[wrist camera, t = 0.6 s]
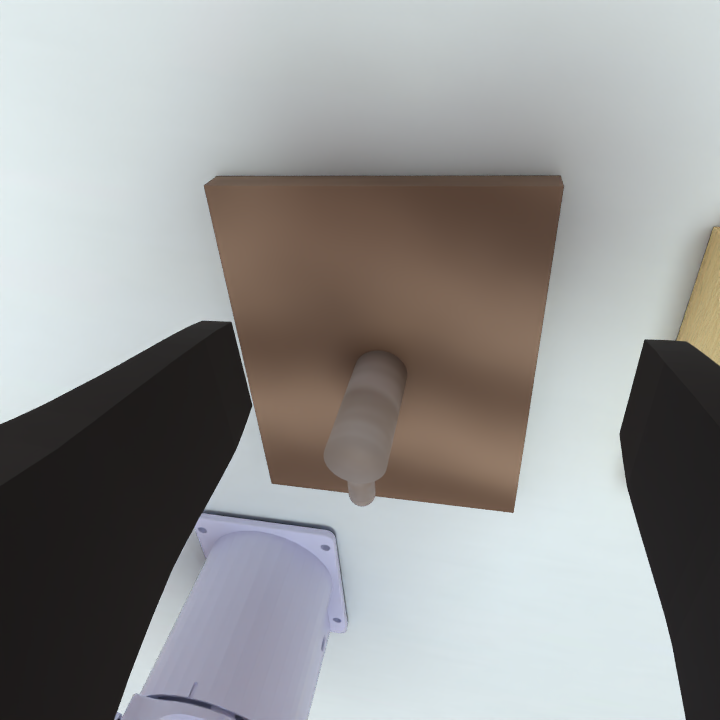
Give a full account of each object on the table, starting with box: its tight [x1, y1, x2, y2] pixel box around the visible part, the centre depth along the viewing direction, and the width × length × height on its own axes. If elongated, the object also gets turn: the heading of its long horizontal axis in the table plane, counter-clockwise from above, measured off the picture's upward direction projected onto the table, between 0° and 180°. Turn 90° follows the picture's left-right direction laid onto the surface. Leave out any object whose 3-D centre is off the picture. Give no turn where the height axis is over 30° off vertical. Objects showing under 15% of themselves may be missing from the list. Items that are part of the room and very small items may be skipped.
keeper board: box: [204, 176, 564, 513], centre depth 19 cm, size 14×11×6 cm
